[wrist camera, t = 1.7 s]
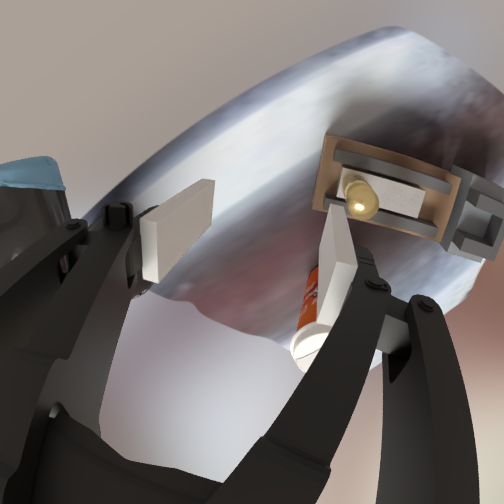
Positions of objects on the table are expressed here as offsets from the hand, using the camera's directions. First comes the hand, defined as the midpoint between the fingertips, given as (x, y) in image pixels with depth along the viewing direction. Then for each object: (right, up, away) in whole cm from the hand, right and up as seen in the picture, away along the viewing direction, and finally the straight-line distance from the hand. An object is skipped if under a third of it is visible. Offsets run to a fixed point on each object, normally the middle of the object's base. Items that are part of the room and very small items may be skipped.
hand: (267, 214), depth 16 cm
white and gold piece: (+12, +4, +12) cm, 17 cm away
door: (+15, +7, +17) cm, 24 cm away
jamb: (+27, +4, +15) cm, 31 cm away
